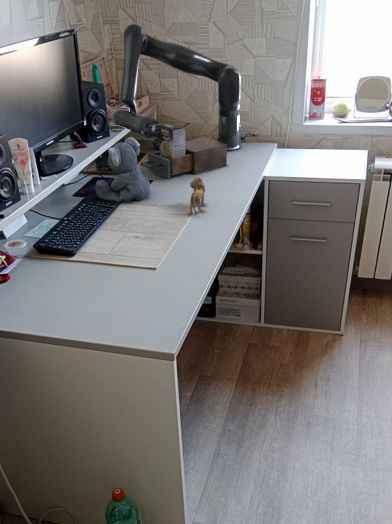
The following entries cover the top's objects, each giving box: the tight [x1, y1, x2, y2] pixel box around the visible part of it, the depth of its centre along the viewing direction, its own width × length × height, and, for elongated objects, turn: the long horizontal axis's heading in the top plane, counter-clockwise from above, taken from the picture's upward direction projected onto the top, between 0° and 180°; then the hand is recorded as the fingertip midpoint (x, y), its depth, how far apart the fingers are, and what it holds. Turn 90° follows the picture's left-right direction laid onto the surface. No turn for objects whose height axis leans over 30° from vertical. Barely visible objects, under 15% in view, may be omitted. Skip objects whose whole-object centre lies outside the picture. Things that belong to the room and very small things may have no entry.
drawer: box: [140, 150, 193, 179], centre depth 223 cm, size 21×14×7 cm, turn 128°
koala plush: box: [95, 136, 151, 203], centre depth 200 cm, size 17×18×20 cm
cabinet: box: [185, 136, 228, 175], centre depth 231 cm, size 17×15×9 cm
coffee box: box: [158, 121, 186, 170], centre depth 221 cm, size 9×6×16 cm
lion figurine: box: [189, 176, 206, 216], centre depth 191 cm, size 15×5×9 cm, turn 0°
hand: (169, 134), depth 219 cm, fingers open, 8 cm apart
